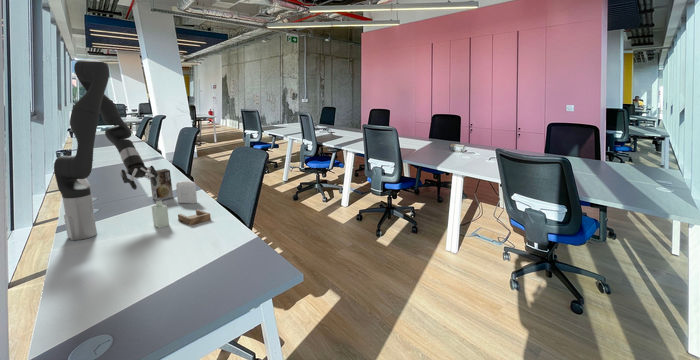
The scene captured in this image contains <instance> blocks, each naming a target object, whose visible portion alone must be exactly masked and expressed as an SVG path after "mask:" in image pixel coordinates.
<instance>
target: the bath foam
mask: <svg viewBox="0 0 700 360" xmlns="http://www.w3.org/2000/svg"><path fill="white" fill-rule="evenodd" d="M77 180H78V182H79V183H81V184H83V185H85V186H88V187H89V188H90V192H91V193H92V190H91V185H90V181H89V180H88V179H87V178H85V179H77ZM91 199H92V205H93V206H94V203H93V195H92V194H91Z"/></svg>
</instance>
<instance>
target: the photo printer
mask: <svg viewBox="0 0 700 360" xmlns="http://www.w3.org/2000/svg"><path fill="white" fill-rule="evenodd" d="M175 185H176V186H175V187H176V197H177V203H179V204H193V205H194V203H195V204H196V203H197V202H198V197H197V184H196V182H194V181H191V180H179V181H177V182H176V184H175Z"/></svg>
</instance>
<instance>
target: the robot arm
mask: <svg viewBox="0 0 700 360" xmlns="http://www.w3.org/2000/svg"><path fill="white" fill-rule="evenodd" d="M73 68H74V69H73V70H74V74H75V76H76V78H77V80H78V81H79V82H80V84H81V86H82V88H84V90H85V93H84V94H83V96H82V97H80V98H79V99H78V101H76V102H75V104H74V105H73V107H72V108H71V112H70V118H69V126H70V129H71V131H72V134H73V135H74V137H75V139H76V143H77V148H76V154H75V155H60V156H58V157H56V159H55V160H54V163H53V171H54V172H53V173H54V176H55V181H56V184H57V189H58V191H59V192H60V194H61V198H62V203H63V209H64V213H65V214H64V215H63V217H64V218H63V219H64V224H65V230H66V236H67V239H69V238H70V239H69V240H71V241H78V240H79V241H81V240H85V239H89V238H92V237H94V236H97V235H98V234H97V233H98V231H97V226H96V219H95V212H94V204H93V205H92V201H93V198H92V199H91V195H92V191H91V192H90V188H91V187H90V188H89V187H88V186H85V185H83V184H81V183H79V182H78V180H77V179H85V178H86V179H87V178H88V177H89V176H90V175H91V173H92V169H93V162H94V148H95V147H94V146H95V139H96V134H97V129H98V125H99V120H100V116H101V119H102V120H103V122H104V123H105V125H107V126H111V127H108V128H106V129H105V131H104V134H105V137H106V139H107V140H108V141H110V143H112V145H114V146H115V148H116V149H117V152H118V154H119V155H120V159H121V162H122V163H123V165H124V167H125V168H126V169H121V171H120V176H121V178H122V181H123V183H124V184H129V185H130V187H131V189H133V190H134V191H135V190H137V188H138V186H137V184H136V182H135V180H134V179H135V178H136V179H138V178H139V179H140V178H145V179H148V180H150V179H151V182H152V184H153V186H156V184H157V181H156V179H155V178H157V176H158V174H157V172H156V170H157V169H155V167H154V166H153V165H150V166H149V167H148V166H145V163H144V161H143V159H142V157H141V155H140V153H139V152H138V150H137V149H136V147H135V144H134V143H133V141H132V140H131V139H129V138H131V137H132V133H133V132H132V130H131V129H130V126H128V125H127V124H126V123H125V121H124V120H123V118H122V116H121V115H120V112H119V110H118V107H117V106H116V104H115V103H114V102H113V100H111V98H109V97H108V96H107V95H106V94H105V92H106V89H107V86H108V83H109V78H110V68H109V65H108V64H107V63H106V62H105V61H101V60H90V59H88V60H87V59H80V60H77V61H75V64H74V66H73ZM150 172H151V173H152V174H151V173H150ZM127 175H130V178H128V176H127ZM151 182H150V183H151Z"/></svg>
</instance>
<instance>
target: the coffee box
mask: <svg viewBox="0 0 700 360" xmlns="http://www.w3.org/2000/svg"><path fill="white" fill-rule="evenodd" d="M155 170H156V172H157V174H158V176H157V178H155V179H156V181H157V184H156V186H153V184H152V182H151V179H149V181H150V187H151V188H150V189H151V196H152V199H153V200H155V199H156V198H162V201H163V200H166V199H167V200H168V199H171V198H174V192H173V184H172V183H173V182H172V177H171V175H172V174H171V170H170V169H167V168H162V169H155ZM150 173H151V172H150ZM151 174H152V173H151Z"/></svg>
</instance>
